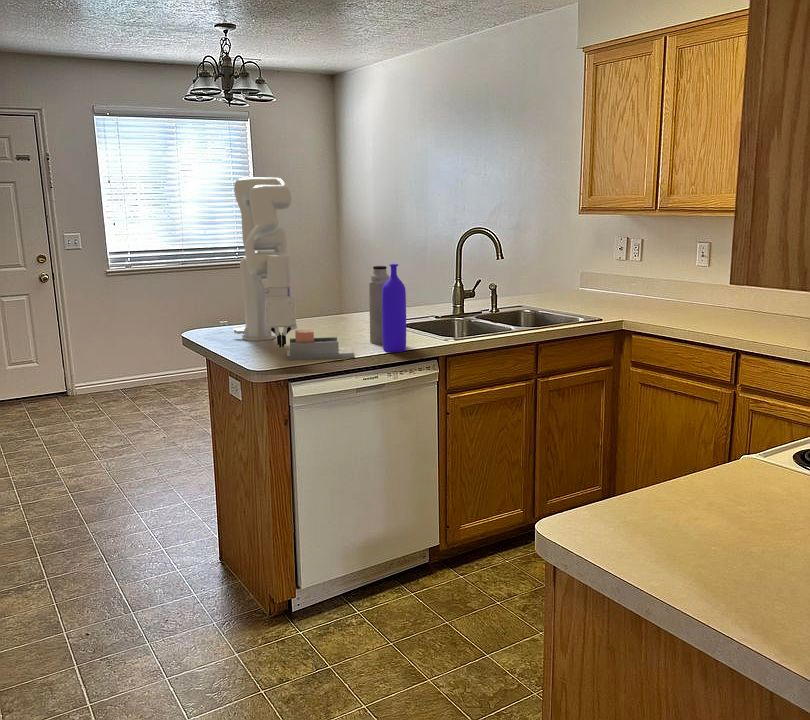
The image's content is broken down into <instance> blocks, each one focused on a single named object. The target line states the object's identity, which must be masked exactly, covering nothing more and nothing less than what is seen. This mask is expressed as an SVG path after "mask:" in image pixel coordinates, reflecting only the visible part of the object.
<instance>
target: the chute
mask: <svg viewBox="0 0 810 720" xmlns="http://www.w3.org/2000/svg"><path fill="white" fill-rule="evenodd" d="M286 352H287V353H286V360H287V361H302V360H303V361H307V360H330V359H333V360H334V359H335V360H337V359H354V358H355V353H354V350H353V348H352V347H339V341H338V336H330V337H329V336H328V337H325V336H324V337H322V336H321V337H314V342H301V343H296V337H295V338H294V337H293V338H289V349H287V351H286Z"/></svg>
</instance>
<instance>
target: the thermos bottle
mask: <svg viewBox="0 0 810 720" xmlns="http://www.w3.org/2000/svg"><path fill="white" fill-rule="evenodd" d="M372 269H373V272H372V274H371V276H370V281H369V282H368V291H369V293H368V294H369V295H368V297H369V298H368V299H369V300H368V301H369V304H368V305H369V343H370V344H375V345H383V332H382V290H383V286H384V284H385V283H386V281H387V280H388V279H389V278H390V275H389V274H387V266H386V265H375V266H372Z"/></svg>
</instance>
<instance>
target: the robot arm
mask: <svg viewBox="0 0 810 720" xmlns="http://www.w3.org/2000/svg"><path fill="white" fill-rule="evenodd" d="M233 187H234V188H233V189H234V190H233V192H234V196H235V200H236V203H237V205H238V207H239V208H238V209H239V210H240V215H241V232H242V243H243V247H244V256H243V257H242V258H241V259H240V263H239V269H240V274H241V278H242V285H243V295H244V296H243V297H244V298H243V300H244V315H245V317H244V319H245V326H244V327H242V328H237V327H236V328H234V329H233V332H234V333H233V334H237V335H239V334H240V335H241V334H242V335H241V339H242V340H244V341H251V342H252V341H253V342H254V341H255V342H257V341H258V342H260V341H269V340H273V339H276V345H277V346H278V347H279V348H285V345H287V335H288V334H289V333H290V332H291V331H295V330H298V325H297V314H296V313H297V312H296V311H297V309H296V303H295V298H294V296H293V295H292V287H291V286H292V285H291V284H292V283H291V282H292V281H291V259H290V256H289V255H288V248H287V247H288V246H287V236H286V231H285V229H284V228H283V226H281V225H280V222H279V217H278V211H277V210H288V209H290V208H291V205H292V193H291V191H290V188H289V186H288V185H287V183H286V182H285V181H284V180H283V179H282V178H280V177H266V176H265V177H264V176H263V177H262V176H261V177H258V176H257V177H256V176H255V177H253V176H252V177H251V176H249V177H242V178H238V179H237V180H235V182H234V185H233ZM266 251H267V252H266ZM263 281H266V282H267V283H266V284H267V286H266V285H265V284H264V283H263ZM279 328H282V329H283V330H282V333H281V332H280V329H279Z"/></svg>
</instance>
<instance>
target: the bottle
mask: <svg viewBox="0 0 810 720" xmlns="http://www.w3.org/2000/svg"><path fill="white" fill-rule="evenodd" d="M398 266H399V264H398V263H389V267H390V275H389V279H388V280H387V281H386V283H385V284H384V286H383V290H382V332H383V344H382V348H383V349H382V350H383V352H386V353H403V352H405V351H406V350H407V297H406V296H407V295H406V294H407V291H406V286H405V284H404V283H403V281H402V280H401V279H400V278H399V277H398V271H397V268H398Z"/></svg>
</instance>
